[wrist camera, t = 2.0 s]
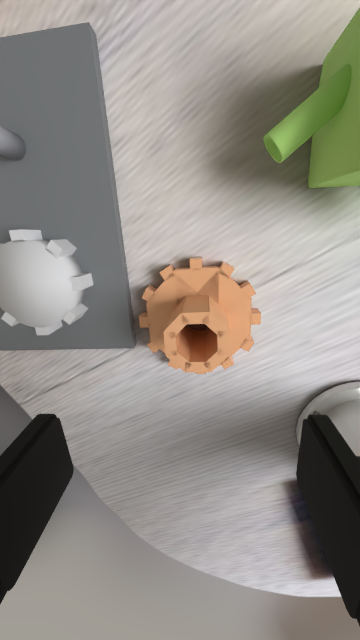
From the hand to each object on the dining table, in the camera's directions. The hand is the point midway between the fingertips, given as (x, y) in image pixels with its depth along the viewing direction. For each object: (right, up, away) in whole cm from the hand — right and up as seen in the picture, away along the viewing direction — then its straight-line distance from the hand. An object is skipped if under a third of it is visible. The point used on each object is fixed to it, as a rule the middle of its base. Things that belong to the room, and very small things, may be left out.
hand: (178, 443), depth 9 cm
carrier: (-14, +14, +15) cm, 24 cm away
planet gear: (+2, +5, +16) cm, 17 cm away
